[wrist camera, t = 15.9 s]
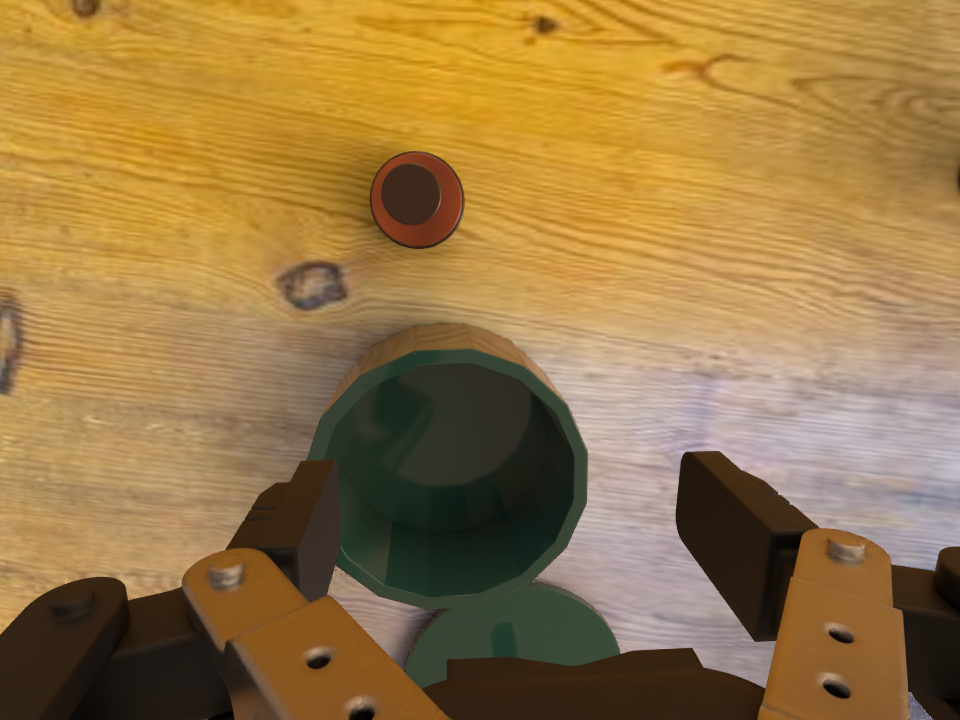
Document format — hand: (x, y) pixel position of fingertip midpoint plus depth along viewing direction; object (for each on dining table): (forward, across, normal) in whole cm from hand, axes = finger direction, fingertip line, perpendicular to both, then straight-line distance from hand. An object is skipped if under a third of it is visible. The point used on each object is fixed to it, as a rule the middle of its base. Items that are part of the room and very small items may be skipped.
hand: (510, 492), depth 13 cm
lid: (+23, -4, +27) cm, 36 cm away
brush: (+24, +3, -7) cm, 25 cm away
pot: (+24, +1, +8) cm, 25 cm away
